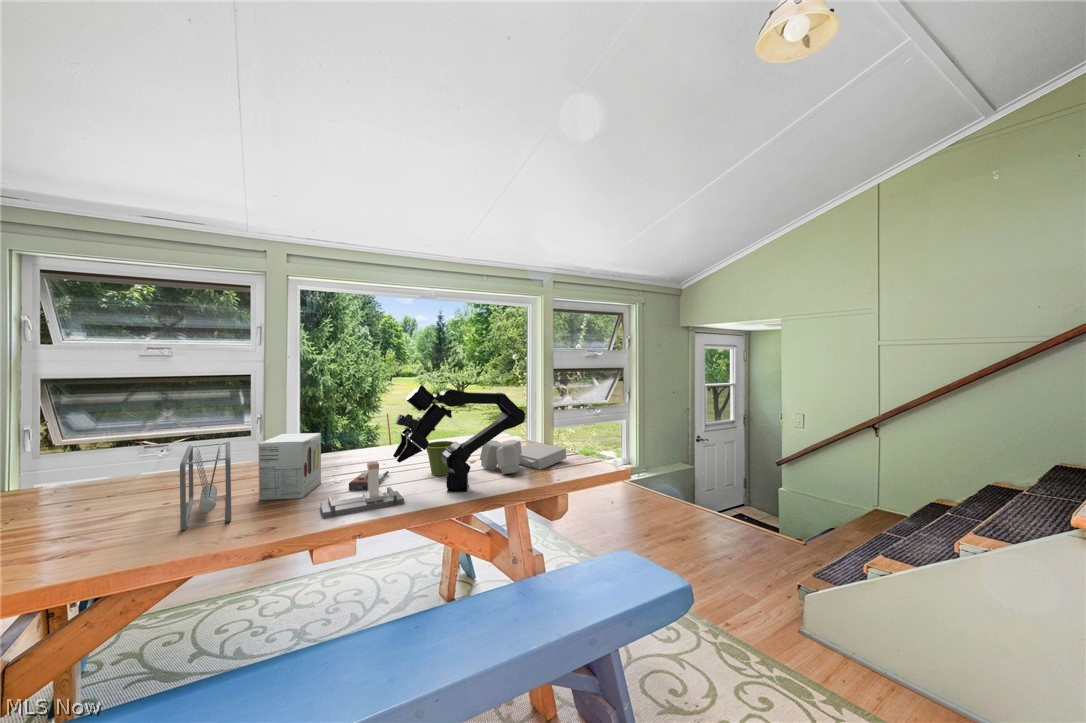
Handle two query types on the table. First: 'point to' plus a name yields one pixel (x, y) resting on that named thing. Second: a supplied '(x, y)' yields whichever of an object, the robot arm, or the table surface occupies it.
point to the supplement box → (289, 465)
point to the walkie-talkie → (363, 481)
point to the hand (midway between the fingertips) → (396, 459)
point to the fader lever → (373, 483)
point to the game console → (519, 455)
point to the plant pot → (438, 457)
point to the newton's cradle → (208, 490)
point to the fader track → (359, 504)
